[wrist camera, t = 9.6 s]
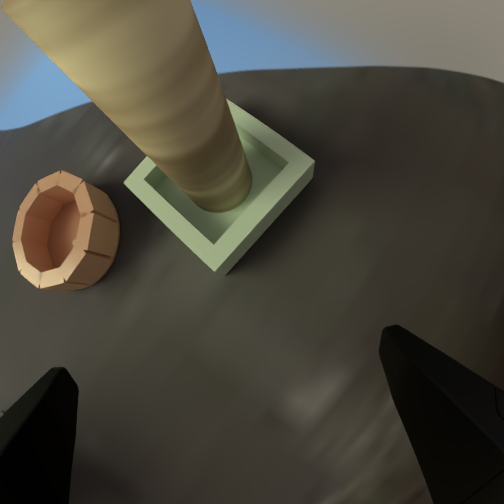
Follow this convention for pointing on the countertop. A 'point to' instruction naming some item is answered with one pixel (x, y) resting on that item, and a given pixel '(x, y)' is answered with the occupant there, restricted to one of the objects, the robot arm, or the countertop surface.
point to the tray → (242, 217)
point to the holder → (65, 233)
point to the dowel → (149, 85)
